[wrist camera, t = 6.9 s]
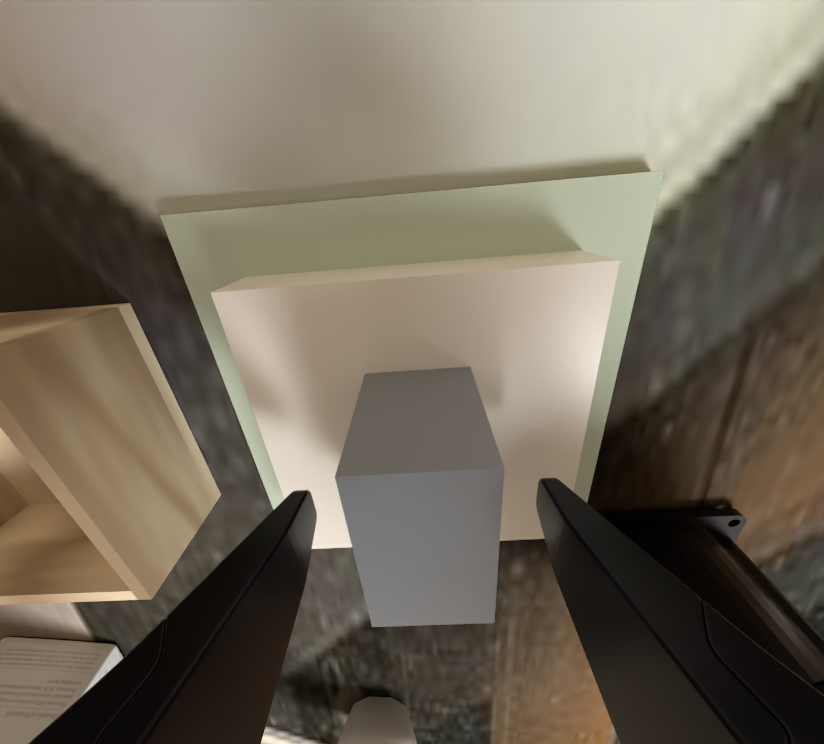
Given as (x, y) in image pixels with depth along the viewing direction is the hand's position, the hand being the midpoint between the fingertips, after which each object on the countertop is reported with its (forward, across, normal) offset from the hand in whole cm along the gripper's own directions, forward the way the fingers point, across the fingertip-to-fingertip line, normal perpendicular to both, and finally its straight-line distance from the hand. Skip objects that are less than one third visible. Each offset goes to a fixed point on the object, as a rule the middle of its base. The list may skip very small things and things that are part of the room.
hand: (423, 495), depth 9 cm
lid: (+4, 0, 0) cm, 4 cm away
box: (+5, +14, 0) cm, 15 cm away
